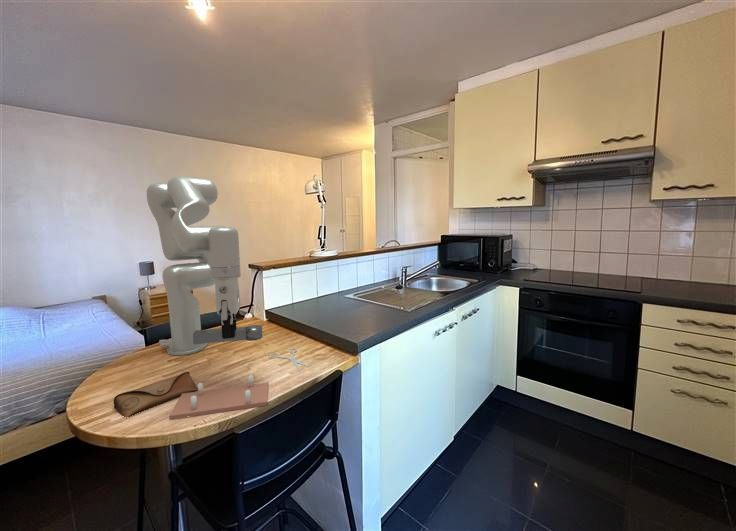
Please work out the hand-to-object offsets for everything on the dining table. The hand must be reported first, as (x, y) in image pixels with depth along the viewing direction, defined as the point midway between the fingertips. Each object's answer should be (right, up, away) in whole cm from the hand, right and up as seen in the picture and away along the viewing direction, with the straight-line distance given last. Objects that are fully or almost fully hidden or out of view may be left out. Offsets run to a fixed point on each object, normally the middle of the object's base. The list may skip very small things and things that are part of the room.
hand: (229, 335), depth 88 cm
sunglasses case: (-16, -16, -6) cm, 23 cm away
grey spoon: (0, -1, 0) cm, 1 cm away
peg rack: (+2, -16, -8) cm, 17 cm away
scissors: (+14, -13, +17) cm, 25 cm away
